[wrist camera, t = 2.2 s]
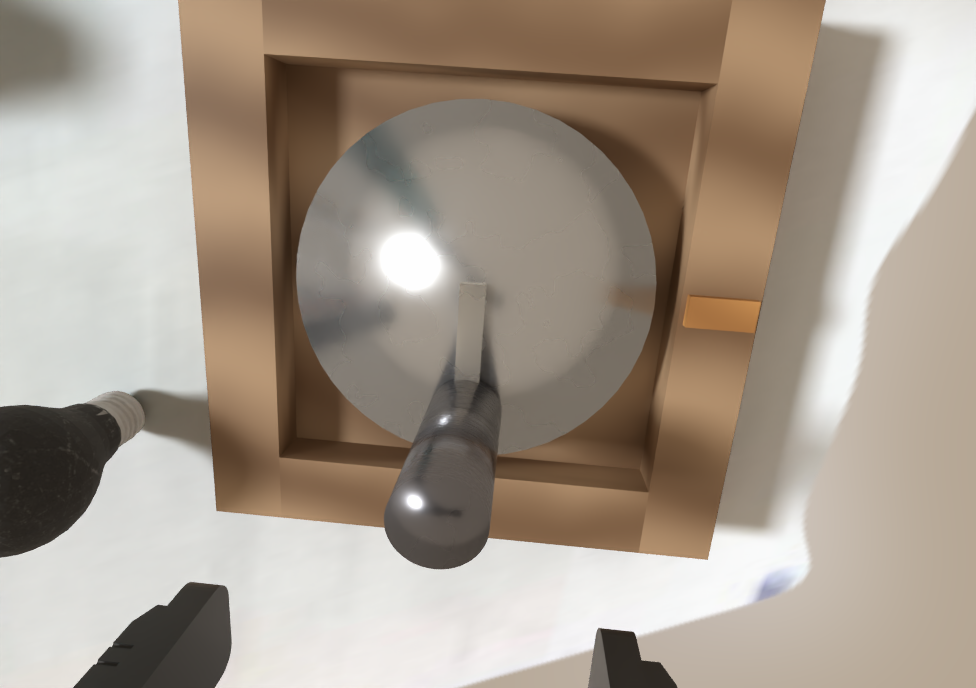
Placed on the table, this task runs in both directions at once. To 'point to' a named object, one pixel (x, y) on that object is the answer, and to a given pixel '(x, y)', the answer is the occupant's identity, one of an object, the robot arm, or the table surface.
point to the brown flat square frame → (553, 91)
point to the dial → (472, 299)
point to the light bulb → (56, 464)
